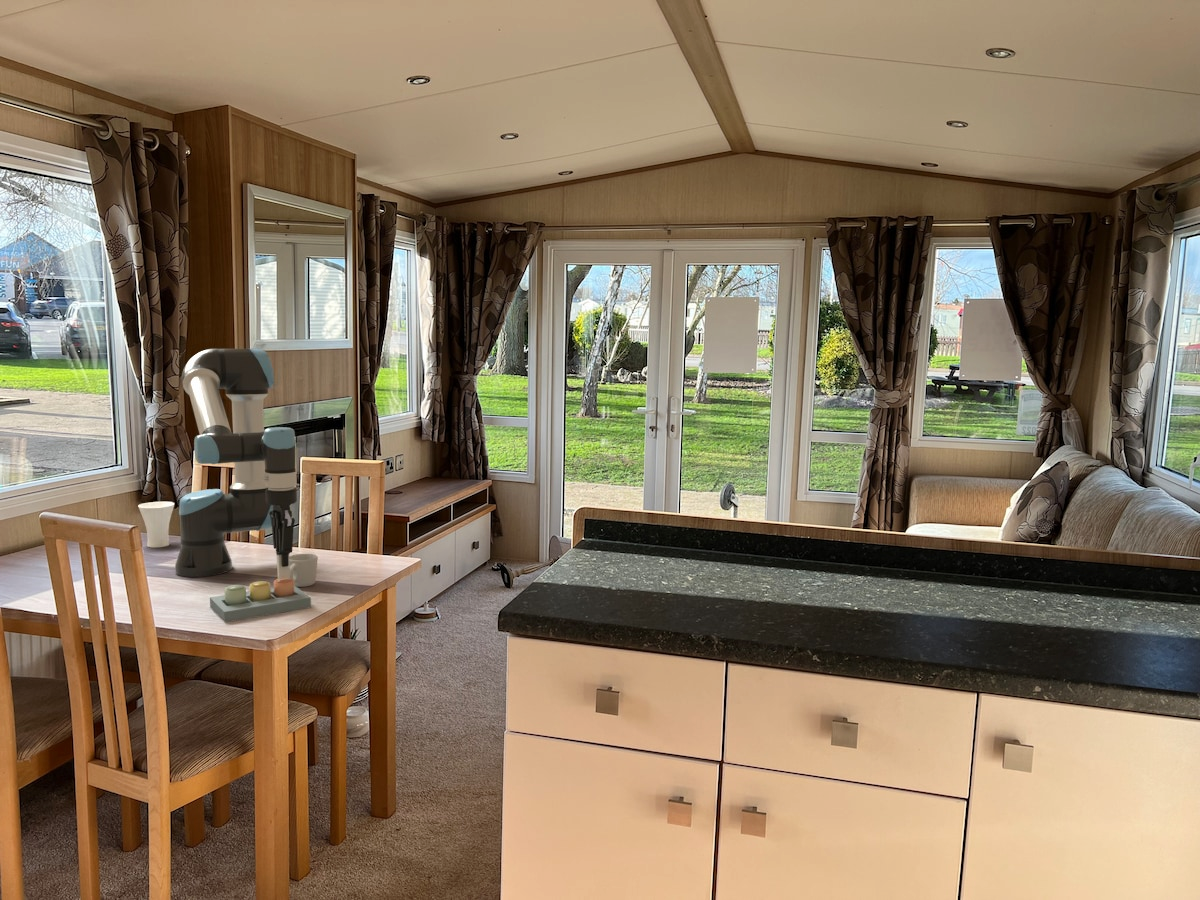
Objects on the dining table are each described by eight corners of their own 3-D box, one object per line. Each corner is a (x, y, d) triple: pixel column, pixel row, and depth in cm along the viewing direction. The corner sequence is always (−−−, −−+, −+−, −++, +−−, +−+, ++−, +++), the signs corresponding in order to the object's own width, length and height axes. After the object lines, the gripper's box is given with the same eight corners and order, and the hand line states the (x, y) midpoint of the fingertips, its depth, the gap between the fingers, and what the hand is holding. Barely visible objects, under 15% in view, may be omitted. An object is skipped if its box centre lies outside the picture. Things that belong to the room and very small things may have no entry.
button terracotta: (271, 594, 227) (270, 578, 227) (290, 591, 230) (290, 576, 230) (277, 599, 223) (276, 583, 223) (297, 595, 226) (296, 580, 226)
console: (210, 607, 223) (209, 597, 222) (293, 593, 235) (292, 584, 235) (224, 622, 212) (224, 611, 211) (310, 607, 224) (310, 597, 224)
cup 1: (132, 548, 280) (130, 506, 278) (154, 540, 290) (152, 500, 288) (162, 550, 278) (160, 508, 276) (183, 542, 288) (181, 502, 286)
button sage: (222, 602, 220) (222, 586, 219) (243, 598, 223) (242, 583, 222) (228, 607, 216) (227, 591, 216) (248, 603, 219) (248, 587, 219)
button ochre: (247, 598, 224) (246, 582, 223) (267, 594, 227) (267, 579, 226) (253, 603, 220) (252, 587, 219) (273, 599, 223) (272, 584, 222)
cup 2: (303, 592, 236) (302, 564, 235) (276, 590, 238) (275, 562, 237) (323, 581, 247) (323, 554, 246) (298, 579, 248) (297, 552, 247)
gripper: (258, 485, 226) (261, 574, 229) (273, 493, 216) (276, 586, 219) (287, 483, 230) (290, 570, 233) (304, 490, 220) (306, 581, 223)
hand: (283, 577), depth 226 cm, fingers closed
